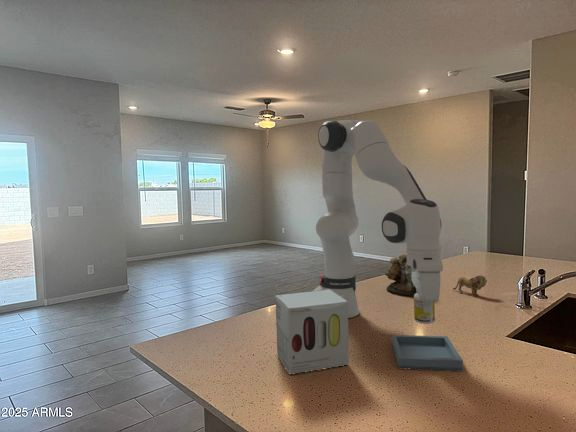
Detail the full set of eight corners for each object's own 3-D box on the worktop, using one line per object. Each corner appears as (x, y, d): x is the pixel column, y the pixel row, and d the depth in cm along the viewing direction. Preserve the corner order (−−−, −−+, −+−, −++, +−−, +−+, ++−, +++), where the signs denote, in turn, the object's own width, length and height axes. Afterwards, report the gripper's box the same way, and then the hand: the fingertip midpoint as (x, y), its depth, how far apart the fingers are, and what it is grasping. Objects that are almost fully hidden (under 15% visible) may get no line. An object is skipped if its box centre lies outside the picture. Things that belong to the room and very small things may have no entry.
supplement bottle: (425, 316, 112) (425, 282, 111) (439, 322, 106) (438, 287, 106) (410, 319, 110) (409, 285, 109) (423, 325, 105) (422, 290, 104)
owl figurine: (378, 291, 176) (377, 253, 174) (394, 286, 183) (393, 250, 182) (413, 298, 162) (413, 258, 160) (429, 293, 169) (428, 254, 168)
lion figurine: (489, 296, 161) (489, 275, 161) (482, 299, 158) (482, 277, 158) (455, 289, 173) (455, 269, 173) (449, 291, 170) (449, 271, 169)
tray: (398, 368, 102) (398, 358, 102) (391, 343, 118) (391, 334, 118) (462, 371, 100) (462, 360, 99) (447, 345, 115) (447, 336, 115)
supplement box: (289, 377, 100) (286, 308, 98) (276, 355, 113) (274, 294, 111) (350, 366, 105) (349, 300, 103) (331, 346, 118) (330, 288, 116)
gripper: (406, 252, 117) (406, 296, 118) (418, 266, 97) (418, 320, 98) (427, 251, 116) (428, 297, 117) (444, 266, 96) (444, 320, 97)
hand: (424, 307), depth 108 cm, fingers closed on supplement bottle, 5 cm apart
